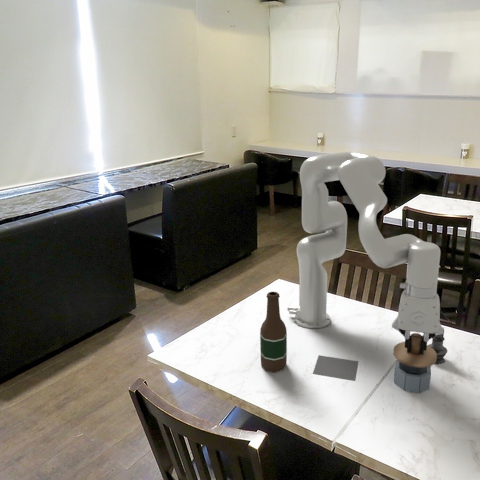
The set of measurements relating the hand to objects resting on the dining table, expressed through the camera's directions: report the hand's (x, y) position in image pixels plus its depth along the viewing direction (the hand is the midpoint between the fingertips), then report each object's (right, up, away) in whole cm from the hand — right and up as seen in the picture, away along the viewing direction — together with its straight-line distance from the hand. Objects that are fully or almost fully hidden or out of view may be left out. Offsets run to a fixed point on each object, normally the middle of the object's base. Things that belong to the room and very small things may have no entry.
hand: (415, 350), depth 124 cm
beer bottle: (-38, -8, +13) cm, 41 cm away
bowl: (0, -10, +3) cm, 10 cm away
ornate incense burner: (+11, -6, +14) cm, 19 cm away
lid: (0, -2, 0) cm, 2 cm away
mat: (-19, -8, +11) cm, 24 cm away
